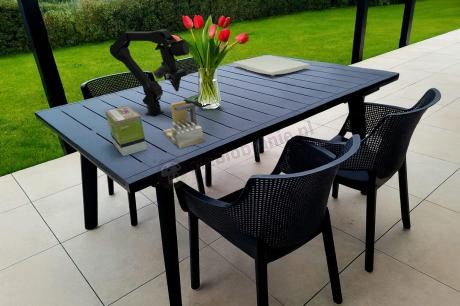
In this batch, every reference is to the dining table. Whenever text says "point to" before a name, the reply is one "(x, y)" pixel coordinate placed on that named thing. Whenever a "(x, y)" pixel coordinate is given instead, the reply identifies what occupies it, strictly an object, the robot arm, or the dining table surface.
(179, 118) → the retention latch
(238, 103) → the dining table surface
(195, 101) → the disk drive
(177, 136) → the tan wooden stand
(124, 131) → the tea box
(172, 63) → the robot arm
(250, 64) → the board
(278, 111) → the dining table surface
